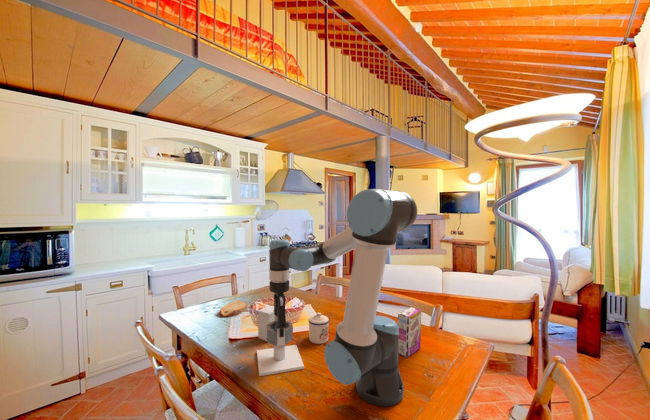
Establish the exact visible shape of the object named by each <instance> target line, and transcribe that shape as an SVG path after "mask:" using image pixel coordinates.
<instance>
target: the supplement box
mask: <svg viewBox="0 0 650 420" xmlns="http://www.w3.org/2000/svg"><path fill="white" fill-rule="evenodd" d="M274 316H276V315H274V306H271V305H268V306H266V307H263V308H261V309H259V310H258V311H257V328H258V330H257V338H258V339H260V340H262V341H265V342H267V339H266V325H267V324H269V323H271V322H273V321H274Z"/></svg>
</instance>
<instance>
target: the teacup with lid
mask: <svg viewBox="0 0 650 420" xmlns="http://www.w3.org/2000/svg"><path fill="white" fill-rule="evenodd" d="M329 321H330V319H329V317H328V316H326V315H323V314H322V313H321V312H317V313H316V314H315V315H311V316H310V317H309V318H308V331H309V332H308V340H309V341H310V342H311V343H312V344H321V345H322V344H325V343H326V342H327V341H329ZM327 343H328V342H327Z"/></svg>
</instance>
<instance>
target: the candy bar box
mask: <svg viewBox="0 0 650 420" xmlns="http://www.w3.org/2000/svg"><path fill="white" fill-rule="evenodd" d="M397 325H398V333H399V347H398V356H401V357H404V358H406V359H408V358H409V357H410V356H412V355H413V354H415V353H416V352H417V351H419V350H420V349H421V340H422V339H421V336H422V335H421V334H422V333H421V331H422V310H421V309H419V308H415V307H412V306H411V307H409V308H407V309H405V310H402V311H400V312H398V313H397Z"/></svg>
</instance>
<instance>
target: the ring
mask: <svg viewBox="0 0 650 420" xmlns="http://www.w3.org/2000/svg"><path fill="white" fill-rule="evenodd" d="M276 327H278V321H273V322H271V323H269V324H267V325H266V339H267V341H266V343H267V344H270V345H273V346H274V345H275V346H276V345H277V329H276ZM293 331H294V327H293V323H292V322H291V321H288V320H286V328H285V345H287V344H289V343H290V342H291V341H293V339H294V332H293Z"/></svg>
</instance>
